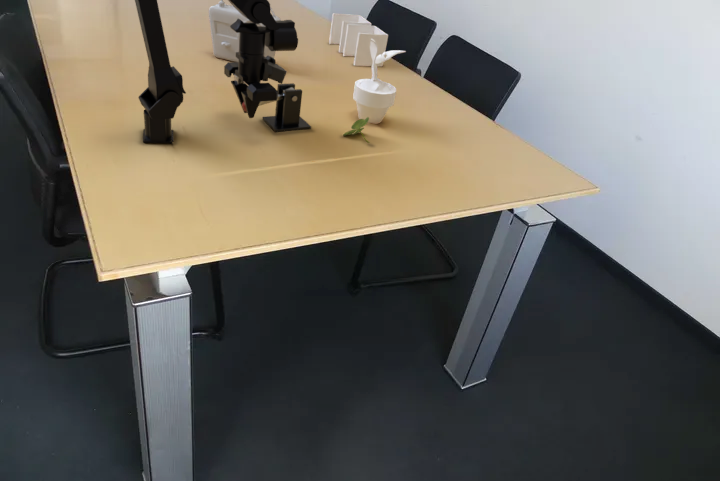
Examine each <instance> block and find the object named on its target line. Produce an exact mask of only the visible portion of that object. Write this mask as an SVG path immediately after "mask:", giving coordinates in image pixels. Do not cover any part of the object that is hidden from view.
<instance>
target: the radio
mask: <svg viewBox="0 0 720 481" xmlns="http://www.w3.org/2000/svg"><path fill="white" fill-rule="evenodd" d="M270 9H271V10H270V12H271V14H272V16H273V18H274V19H275V21H282V19H281V18H280V17H279V16H277V15H276V14H275V12H274V10H273V8H272V7H271V6H270ZM208 19H209V27H210V36H211V44H212V53H213V56H214V57H216V58H217V59H221V60H226V61H228V62H239V59H238V58H237V57H236V52H239V33H236V32H235V31H234V30H233V29H231V28H230V25H232V24H233V23H234V22H236V21H237V19H240V20H241V21H243V23H253V22H251V21H250V20H248V19H247V18H246V17H244V16H243V15H242V14H240V13H239V12H238V10H237V9H236V8H235V7H234V6H233V5H230V4H226V2H225V1H224V0H219V1H218V3H217V4H214V5H211V6H209V9H208ZM256 25H257V26H264V25H263V24H262V23H259V24H256ZM276 52H277V51H270V50H269V48H268V47H267V46H265V48H264V57H267V56H270V57H273V58H274V59H275V55H276Z"/></svg>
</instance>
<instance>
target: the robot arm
mask: <svg viewBox="0 0 720 481" xmlns="http://www.w3.org/2000/svg"><path fill="white" fill-rule="evenodd" d="M227 1H228V2H229V4H231V6H234V7H235V8H236V9H237V10H238V12H239V13H240V14H242V15H243V16H244V17H246V18H247V19H248V20H250V21H251V22H253V23H243V21H241V20H240V19H237V21H236V22H234V23H233V24H232V25H230V28H231V29H233V30H234V31H235V32H236V33H239V52H236V57H237V58H238V59H239V62H233V61H228V62H227V63H226V64H225V65H224V66H223V74H224V75H225V76H226V77H227V78H231V77H232V76H234V77H233V80H231V81H230V83H231V85H232V87H233V89H234V90H233V91H234V93H235V94H236V96H237V99H238V102H239V104H240V107H241V109H242V111H243V114H247V116H248V118H249V119H254V117H255V115H256V113H257V110H258V108H259V106H258V105H259V103H260V101H274V102H276V101H275V100H277V99H278V91H277V89H276V87H274V86H273V84H271V83H270V82H268V81H269V80H272V81H275V82H277V83H278V84H283V82H284V80H285V78H286V75H287V71H288V70H286V69H285V68H284V67H282V66H281V65H279V64H278V63H276V59H275V57H274V58H273V57H270V56H267V57H264V48H265V46H267V47H268V48H269V50H270V51H276V52H294V51H296V49H297V48H298V44H299V38H298V32H297V29H296V21H293V20H292V19H284V20H281V21H275V19H274V18H273V16H272V15H273V13H272V12H271V9H270V7H271V3H270V1H269V0H227ZM134 3H135V8H136V11H137V16H138V21H139V25H140V29H141V33H142V37H143V42H144V46H145V47H144V48H145V51H146V55H147V60H148V72H147V87H146V89H144V91H143V92H142V93H140V95H139V96H138V100H139V103H140V104H141V106H142V107H143V109H144V110H143V123H144V128H143V130H142V132H143V133H142V143H144V144H145V143H146V144H173V143H174V130H173V129H172V120H173V119H174V118H175V115H176V112H177V110H178V108H179V107H180V106H181V104H183V103H184V95H185V94H187V92H186V90H185V89H184V88H185V87H184V84H183V83H184V82H183V80H184V79H183V75H182V74H181V73H180V71H178V69H177V68H176V67H175V65H174V66H173V65H171V62H170V56H169V52H168V47H167V43H166V37H165V33H164V27H163V23H162V18H161V13H160V8H159V2H158V0H134ZM259 23H262V24H263V25H264V26H257V25H256V24H259ZM261 81H262V82H261ZM243 102H244V103H245V107H246V110H247V112H246V111H244V110H243V108H242V103H243Z"/></svg>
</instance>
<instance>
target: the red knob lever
mask: <svg viewBox="0 0 720 481" xmlns="http://www.w3.org/2000/svg"><path fill="white" fill-rule="evenodd" d="M285 90H296V88H295V89H294V88H293V87H290V88H286V89H283V90H282V94H278V99H277V100H275V101H260V103H259V105H258V107H260V106H263V105H267V104H271V103H275V102H276V101H278V100H281V99H284V93H285ZM242 108H243V109H242ZM241 109H242V111H243V110H244V111H246V112H247V110H246V107H245V103H244V102H243V103H242V106H241ZM244 111H243V112H244Z"/></svg>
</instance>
